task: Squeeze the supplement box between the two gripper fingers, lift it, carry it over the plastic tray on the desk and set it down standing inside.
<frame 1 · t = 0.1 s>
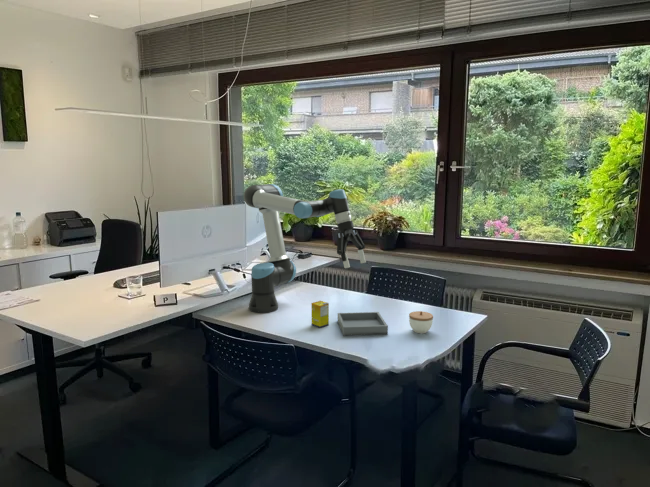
hand: (355, 265, 231), 28 cm above the table, tool tilted 20°, fingers open, 13 cm apart
supplement box: (320, 325, 231), on the table
lidded jar: (420, 331, 224), on the table
desk tray: (361, 327, 228), on the table
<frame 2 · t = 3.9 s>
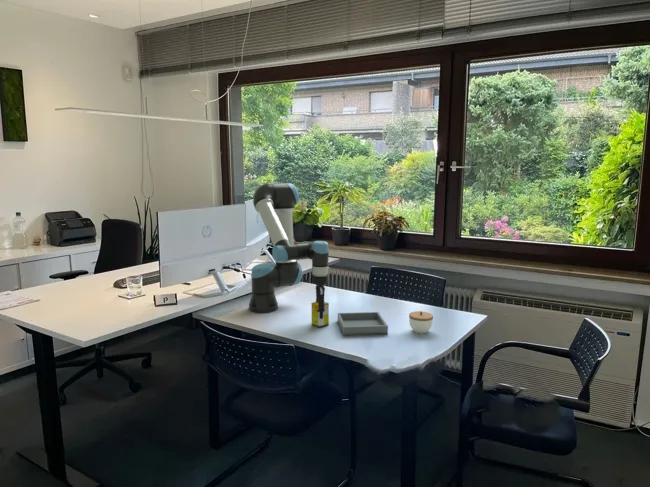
hand: (320, 321, 231), 2 cm above the table, tool pointing down, fingers closed on supplement box, 8 cm apart
supplement box: (320, 325, 231), on the table, touching gripper
everything else where it was.
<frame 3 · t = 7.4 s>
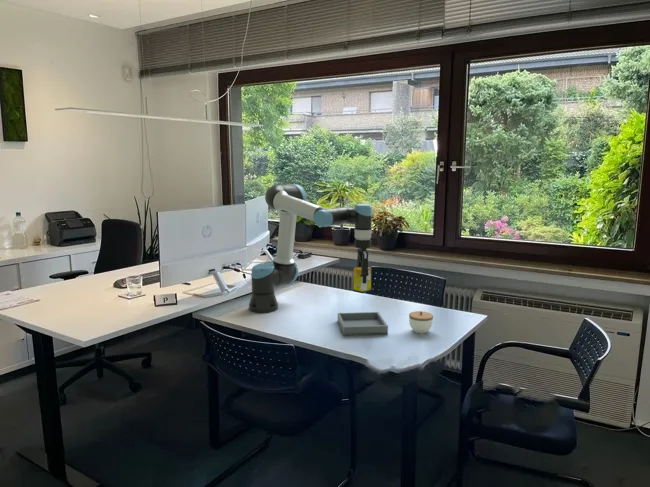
hand: (362, 287, 225), 19 cm above the table, tool pointing down, fingers closed on supplement box, 8 cm apart
supplement box: (362, 291, 225), point 17 cm above the table, touching gripper
everything else where it was.
when the fingers open (4 cm above the table, at t = 11.1 s): supplement box drops 1 cm, resting on desk tray.
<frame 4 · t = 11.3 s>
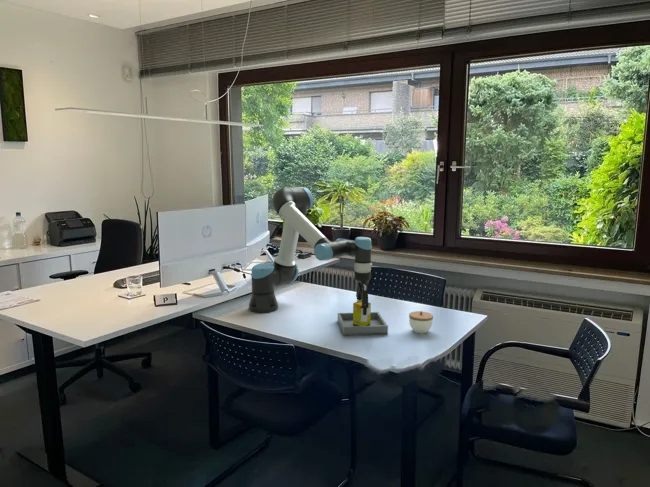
hand: (361, 317, 227), 5 cm above the table, tool pointing down, fingers open, 11 cm apart
supplement box: (361, 325, 228), point 1 cm above the table, touching desk tray
everything else where it was.
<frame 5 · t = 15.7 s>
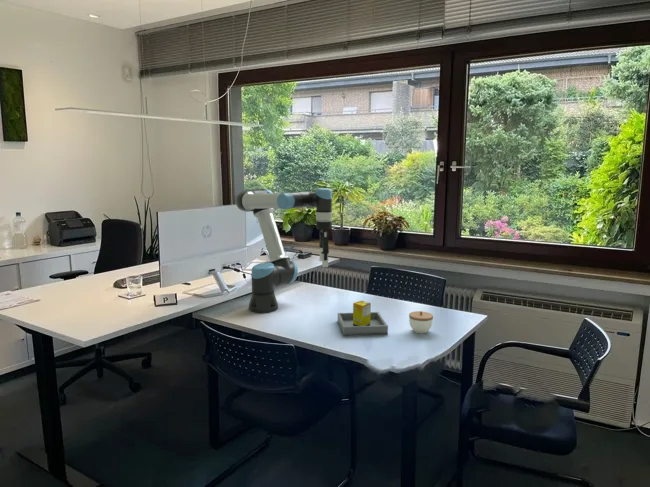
hand: (323, 263, 239), 27 cm above the table, tool pointing down, fingers open, 13 cm apart
nothing on the table moved.
at the end: supplement box inside the target area on the desk tray (0.1 cm from its centre), point 0.8 cm above the desk tray's base; supplement box tilted 0°; the gripper is holding nothing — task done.
